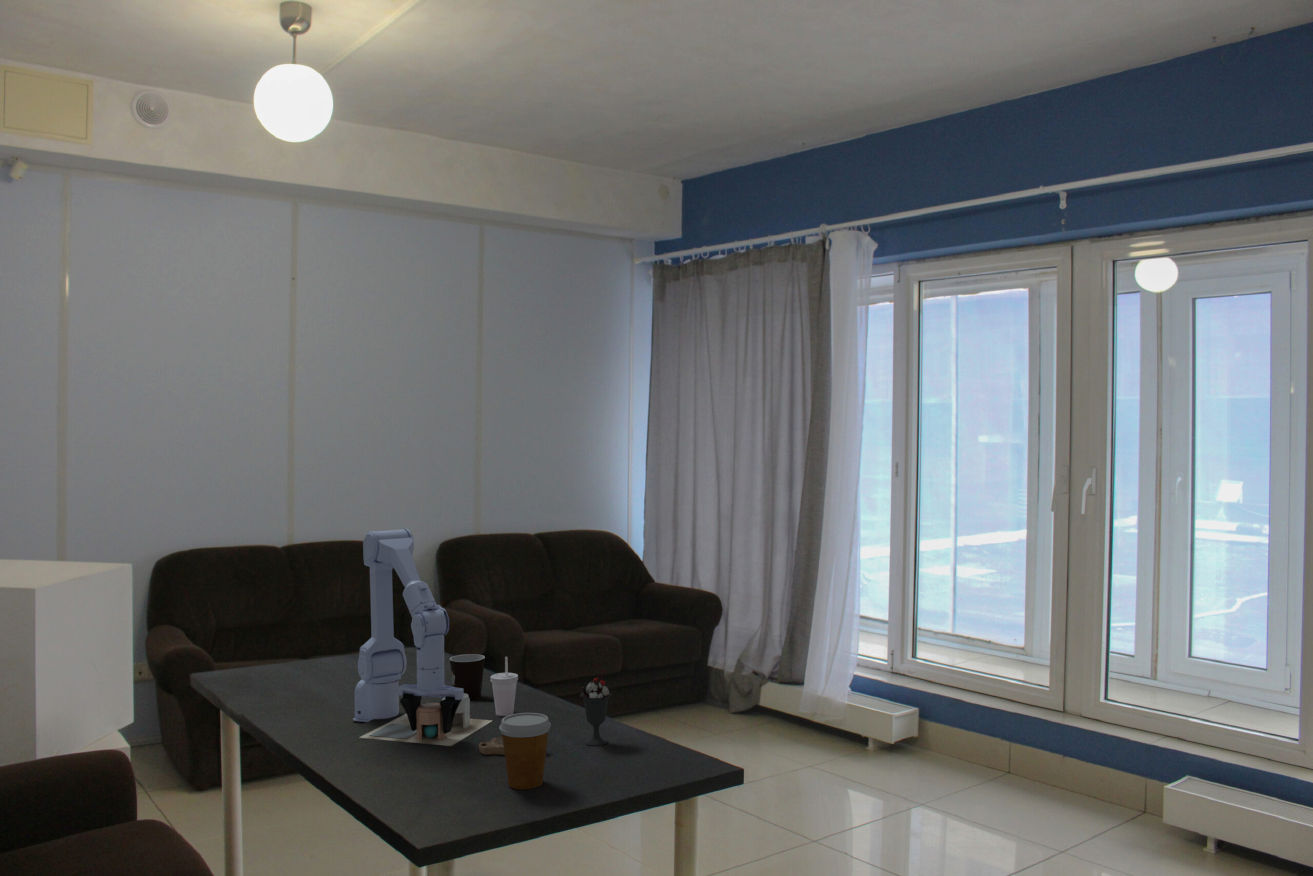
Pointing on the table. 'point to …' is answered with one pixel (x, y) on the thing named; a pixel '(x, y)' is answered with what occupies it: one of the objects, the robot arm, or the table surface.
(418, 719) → the pink stool
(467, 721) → the white round stool
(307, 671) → the table surface
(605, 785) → the table surface
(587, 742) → the sundae
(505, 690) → the smoothie
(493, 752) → the oil lamp
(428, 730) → the marble
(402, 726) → the board
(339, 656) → the table surface
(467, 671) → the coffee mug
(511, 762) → the disposable coffee cup
